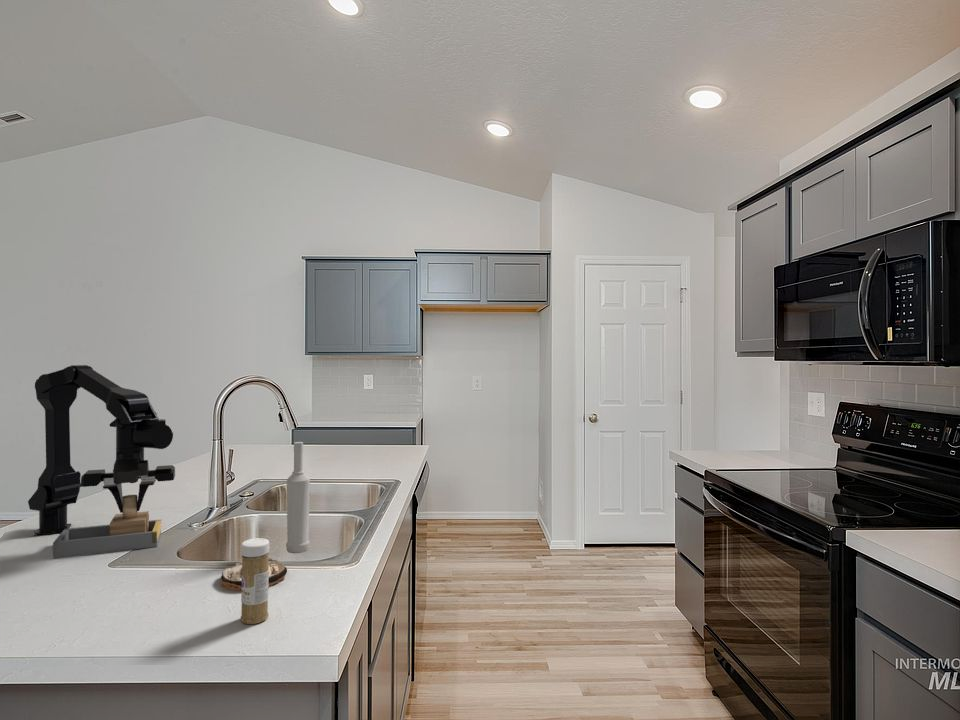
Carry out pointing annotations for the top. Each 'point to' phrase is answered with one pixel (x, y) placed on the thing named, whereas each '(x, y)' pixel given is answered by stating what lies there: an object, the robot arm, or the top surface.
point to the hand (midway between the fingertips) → (130, 511)
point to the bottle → (298, 505)
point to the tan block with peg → (129, 518)
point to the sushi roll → (234, 575)
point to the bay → (103, 540)
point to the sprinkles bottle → (254, 580)
